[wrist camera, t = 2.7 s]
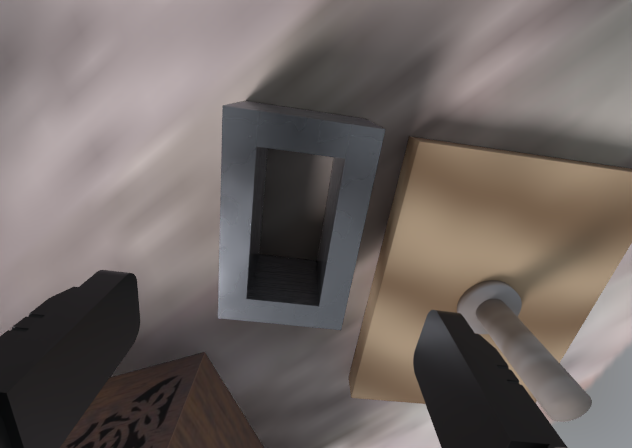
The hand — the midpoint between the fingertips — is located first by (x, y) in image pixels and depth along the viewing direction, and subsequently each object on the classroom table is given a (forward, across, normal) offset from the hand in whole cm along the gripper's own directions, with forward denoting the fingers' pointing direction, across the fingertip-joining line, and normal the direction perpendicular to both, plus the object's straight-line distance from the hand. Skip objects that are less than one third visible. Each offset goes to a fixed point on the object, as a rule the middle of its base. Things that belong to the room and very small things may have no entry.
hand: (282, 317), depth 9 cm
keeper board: (+8, -11, +3) cm, 14 cm away
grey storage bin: (+8, 0, -1) cm, 8 cm away
